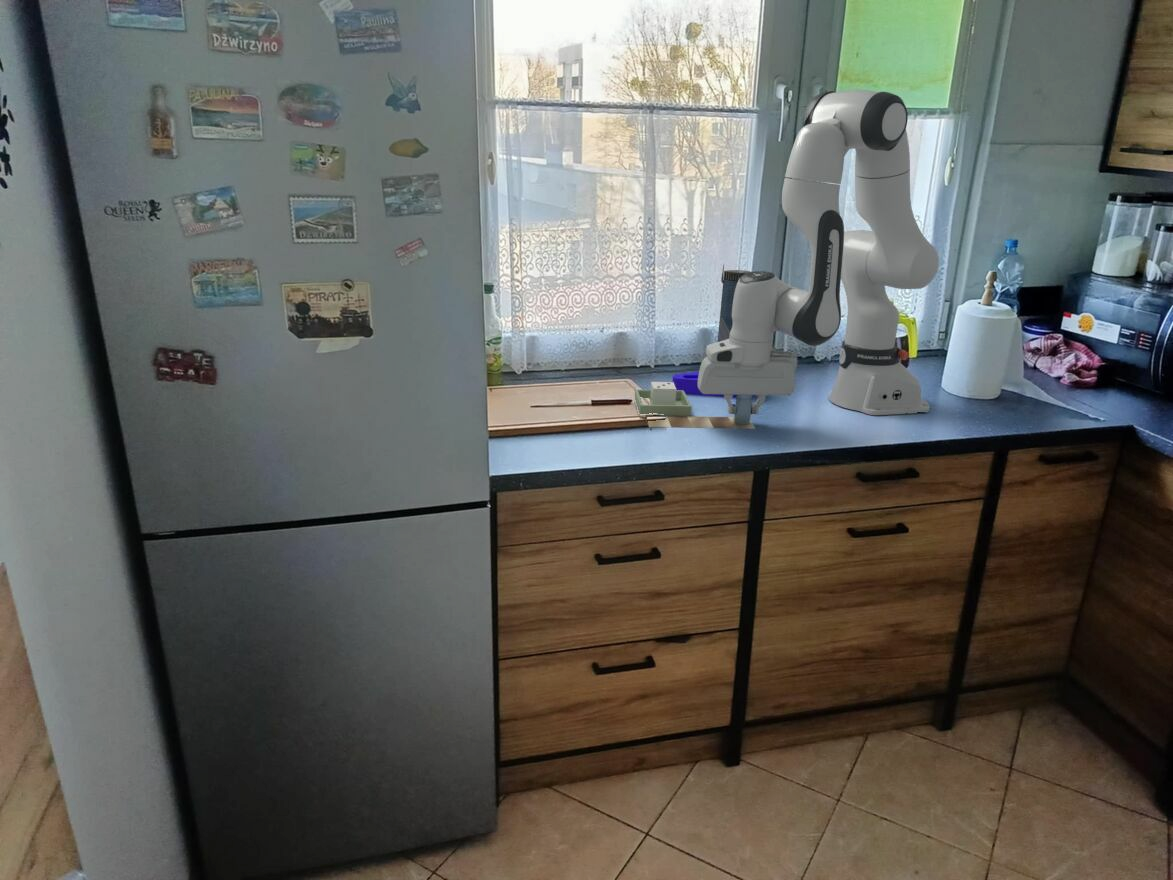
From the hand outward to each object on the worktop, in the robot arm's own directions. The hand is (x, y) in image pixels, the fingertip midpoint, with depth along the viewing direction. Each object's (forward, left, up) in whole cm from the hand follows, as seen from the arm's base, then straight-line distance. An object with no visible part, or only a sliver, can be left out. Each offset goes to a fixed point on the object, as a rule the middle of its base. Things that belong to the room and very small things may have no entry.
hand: (742, 413), depth 188 cm
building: (-4, -33, -3) cm, 33 cm away
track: (+9, 0, -3) cm, 9 cm away
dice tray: (+16, -9, -3) cm, 19 cm away
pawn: (0, 0, -2) cm, 2 cm away
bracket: (+3, -22, -3) cm, 23 cm away
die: (+16, -10, -2) cm, 19 cm away
